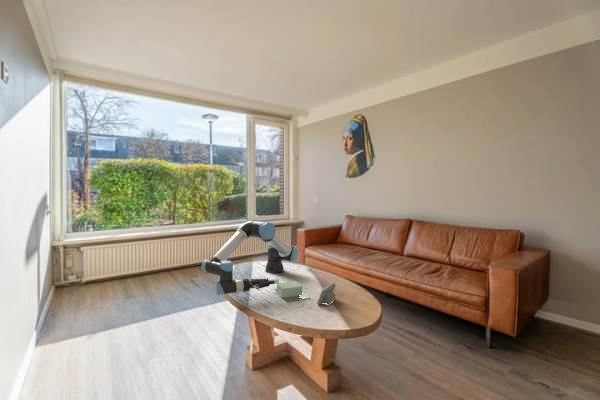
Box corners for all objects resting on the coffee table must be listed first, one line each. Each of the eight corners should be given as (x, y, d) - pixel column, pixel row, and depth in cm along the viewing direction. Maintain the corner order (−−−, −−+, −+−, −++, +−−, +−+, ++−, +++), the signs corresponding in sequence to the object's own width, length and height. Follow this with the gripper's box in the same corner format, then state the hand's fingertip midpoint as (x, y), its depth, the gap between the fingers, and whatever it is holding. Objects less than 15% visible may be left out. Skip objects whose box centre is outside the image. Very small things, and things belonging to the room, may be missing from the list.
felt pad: (296, 286, 202) (296, 285, 202) (310, 298, 182) (310, 297, 182) (275, 289, 196) (275, 288, 196) (287, 302, 176) (287, 301, 176)
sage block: (276, 292, 190) (295, 289, 195) (282, 298, 181) (302, 295, 186) (277, 283, 189) (296, 281, 195) (282, 288, 180) (302, 286, 186)
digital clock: (328, 296, 187) (329, 280, 186) (340, 300, 180) (340, 284, 180) (312, 303, 175) (313, 286, 174) (324, 308, 169) (324, 291, 168)
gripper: (239, 287, 180) (274, 283, 190) (244, 295, 168) (281, 290, 178) (239, 276, 179) (275, 272, 189) (244, 283, 168) (282, 278, 177)
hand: (278, 281), depth 184 cm, fingers closed
